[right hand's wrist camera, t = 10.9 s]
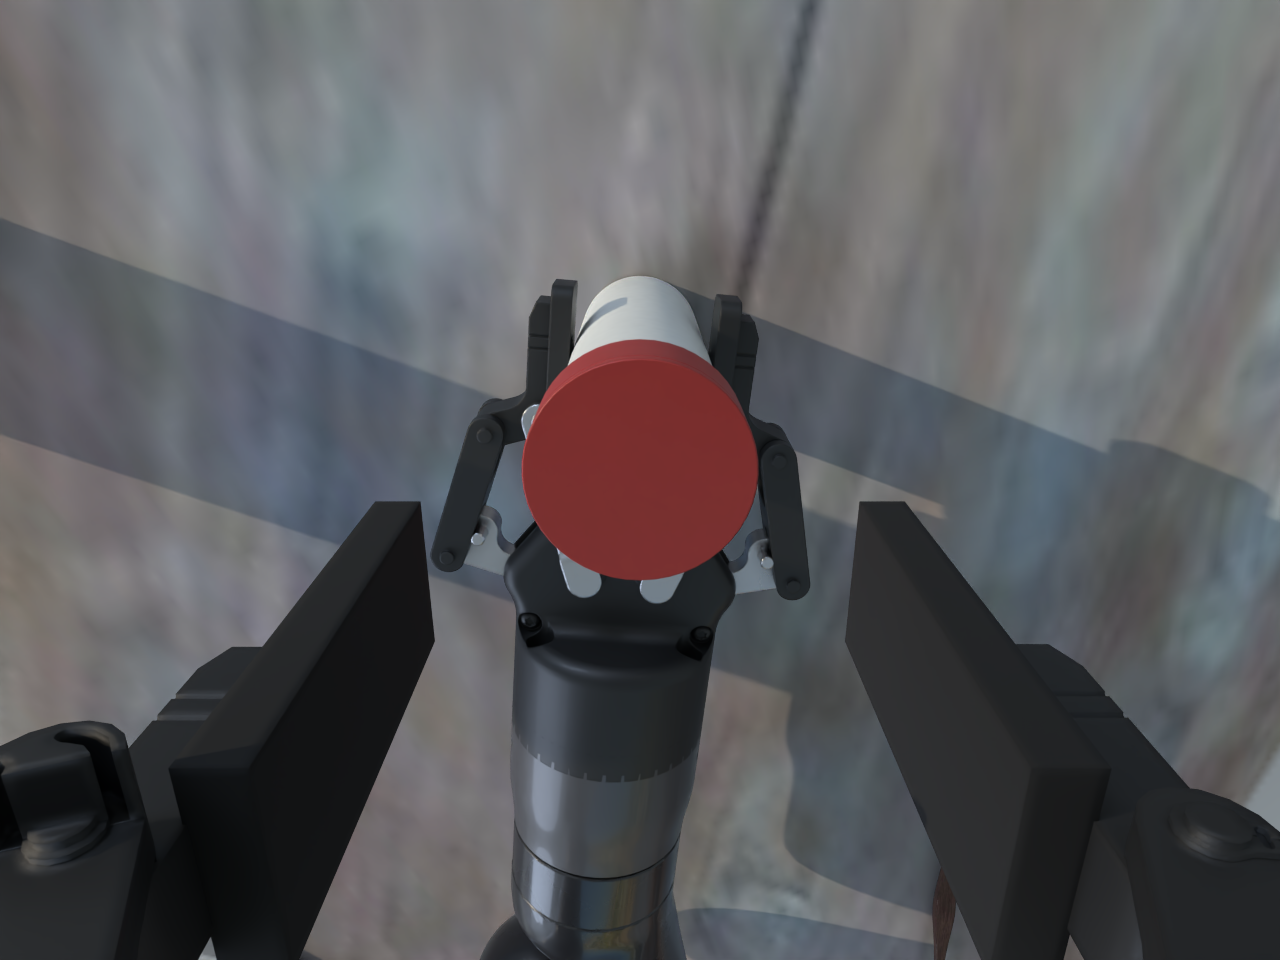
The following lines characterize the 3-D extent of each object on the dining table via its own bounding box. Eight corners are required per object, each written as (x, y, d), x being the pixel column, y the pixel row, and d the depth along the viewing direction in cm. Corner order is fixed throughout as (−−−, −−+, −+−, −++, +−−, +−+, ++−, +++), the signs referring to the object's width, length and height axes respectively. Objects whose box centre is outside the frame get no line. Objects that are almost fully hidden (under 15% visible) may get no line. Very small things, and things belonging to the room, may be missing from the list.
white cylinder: (661, 253, 33) (679, 329, 18) (717, 354, 34) (777, 503, 19) (560, 313, 34) (498, 433, 19) (620, 409, 35) (605, 591, 20)
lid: (681, 296, 19) (686, 312, 17) (784, 481, 21) (799, 514, 19) (490, 408, 20) (474, 434, 18) (603, 575, 22) (600, 617, 20)
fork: (910, 975, 47) (921, 1009, 45) (930, 746, 41) (943, 774, 39) (956, 974, 47) (969, 1007, 45) (982, 744, 41) (999, 772, 39)
